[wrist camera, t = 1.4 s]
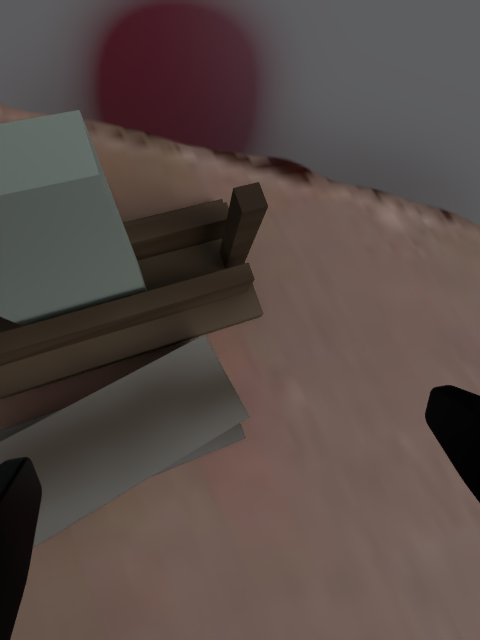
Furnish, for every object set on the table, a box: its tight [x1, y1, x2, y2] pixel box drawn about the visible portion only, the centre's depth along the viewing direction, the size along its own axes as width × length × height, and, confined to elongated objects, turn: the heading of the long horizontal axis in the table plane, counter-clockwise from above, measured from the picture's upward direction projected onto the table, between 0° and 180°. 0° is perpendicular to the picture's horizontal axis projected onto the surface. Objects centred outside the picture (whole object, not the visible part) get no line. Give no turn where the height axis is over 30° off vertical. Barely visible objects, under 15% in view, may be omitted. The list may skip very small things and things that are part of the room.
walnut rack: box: [0, 182, 268, 399], centre depth 17 cm, size 8×19×8 cm, turn 109°
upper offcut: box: [0, 335, 250, 548], centre depth 18 cm, size 5×12×2 cm, turn 119°
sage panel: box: [0, 110, 147, 326], centre depth 15 cm, size 2×6×12 cm, turn 109°
